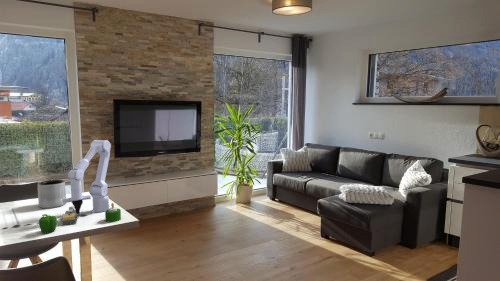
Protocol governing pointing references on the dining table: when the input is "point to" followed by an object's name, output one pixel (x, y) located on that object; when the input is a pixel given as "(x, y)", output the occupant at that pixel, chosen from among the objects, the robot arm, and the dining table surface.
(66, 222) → the plane body
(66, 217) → the lever cap
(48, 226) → the bell pepper
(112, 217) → the candle
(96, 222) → the dining table surface
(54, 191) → the planter
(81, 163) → the robot arm
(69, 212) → the lever
